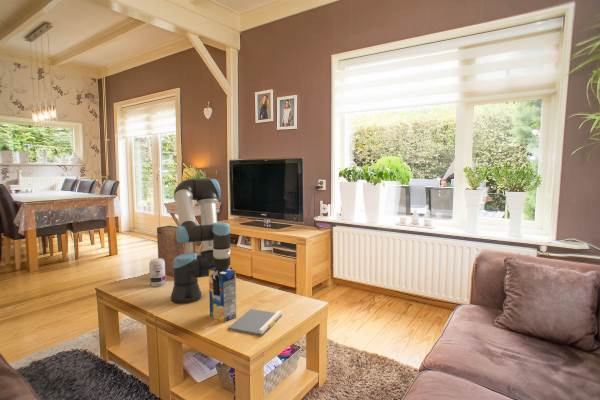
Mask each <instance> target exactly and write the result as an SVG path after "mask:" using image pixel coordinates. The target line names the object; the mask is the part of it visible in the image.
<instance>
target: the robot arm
mask: <svg viewBox="0 0 600 400" xmlns="http://www.w3.org/2000/svg"><path fill="white" fill-rule="evenodd" d="M221 193H222V192H221V186H220V184H219V181H218V180H217V179H215V178H188V179H185V180H183V181H181V182H179V183H178V184H177V186H176V187H175V189H174V191H173V200H174V202H175V203H176V208H177V209H176V210H177V215H178V223H179V226H176V227H177V228H176V237H177V242H179V243H188V242H195V243H197V242H202V249H201V250H200V252H199V253H200V254H199V255H198V254H197V252H196V253H194V252H193V253H191V252H190V253H184V254H181V255H178V256H177V257H175V259H174V266H173V268H174V277H173V288H172V291H171V295H170V301H171V303H173V304H177V305H183V304H184V305H185V304H191V303H195V302H198V301H199V300H201V299H202V291H201V288H200V286H199V281H198V279H199V278H207V277H208V278H209V269H212V268H216V270H215V274H214V275H212V279H213V292H214V295H216V296H219V295H220V289H219V276H218V274H219V273H220V272H222V271H223V272H224V270H228V268H229V269H232V270H233V267H231V257H230V256H231V226H230V224H229V223H228V222H223V221H222V222H220V221H219V222H218V215H217V204H218V203H219V200H220V199H221V196H222V194H221ZM193 201H196V203H197V204H198V205H199V211H200V221H201V222H200V224H199V225H197V221H196V220H197V219H196V215H195V211H194V206H193ZM197 204H196V205H197ZM229 266H230V267H229Z"/></svg>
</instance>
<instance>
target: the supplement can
mask: <svg viewBox="0 0 600 400" xmlns="http://www.w3.org/2000/svg"><path fill="white" fill-rule="evenodd" d="M148 267H149V285H150V286H151V287H153V288H160V287H164V286H165V284H166V275H165V261H164V259H162V258H158V257H157V258H153V259H152V258H151V259H150V261H149V266H148Z"/></svg>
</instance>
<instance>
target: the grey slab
mask: <svg viewBox="0 0 600 400" xmlns="http://www.w3.org/2000/svg"><path fill="white" fill-rule="evenodd" d="M282 315H283V314H282V310H279V309H278V310H277V311H276V312H272V311H265V310H261V309H260V310H259V309H253V308H250V309H249V310H248V311H246V312H245V313H244V314H243V315H242V316H240V317H239V318H237V320H236V321H234V322H233V323H232V324H230V325H229V326H228V327H227V330H228V331H233V332H239V333H243V334H248V335H253V336H259V337H263V336H264V335H265V334H266V333H267V332H268V331H269V330H270V329H271V328H272V327H273V326H274V325H275V323H277V322H278V321H279V319H280V318H282Z"/></svg>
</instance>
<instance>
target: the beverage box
mask: <svg viewBox="0 0 600 400" xmlns="http://www.w3.org/2000/svg"><path fill="white" fill-rule="evenodd" d="M215 270H216V268H212V269H209V276H208V284H209V286H208V287H209V289H208V291H209V294H208V295H209V316H210V317H212V318H214V319H216V320H218V321H220V322H221V323H223V324H225V323H226V322H229V321H232V320H234V319H236V318H237V277H236V274H237V273H236V270H234V269H233V268H232V269H229V268H228V270H224V272H223V271H222V272H220V273H219V274H218V276H219V289H220V295H219V296H216V295H214V292H213V279H212V275H214V274H215Z"/></svg>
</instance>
